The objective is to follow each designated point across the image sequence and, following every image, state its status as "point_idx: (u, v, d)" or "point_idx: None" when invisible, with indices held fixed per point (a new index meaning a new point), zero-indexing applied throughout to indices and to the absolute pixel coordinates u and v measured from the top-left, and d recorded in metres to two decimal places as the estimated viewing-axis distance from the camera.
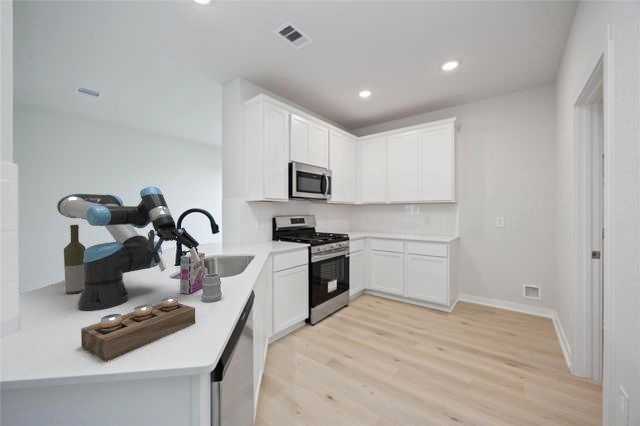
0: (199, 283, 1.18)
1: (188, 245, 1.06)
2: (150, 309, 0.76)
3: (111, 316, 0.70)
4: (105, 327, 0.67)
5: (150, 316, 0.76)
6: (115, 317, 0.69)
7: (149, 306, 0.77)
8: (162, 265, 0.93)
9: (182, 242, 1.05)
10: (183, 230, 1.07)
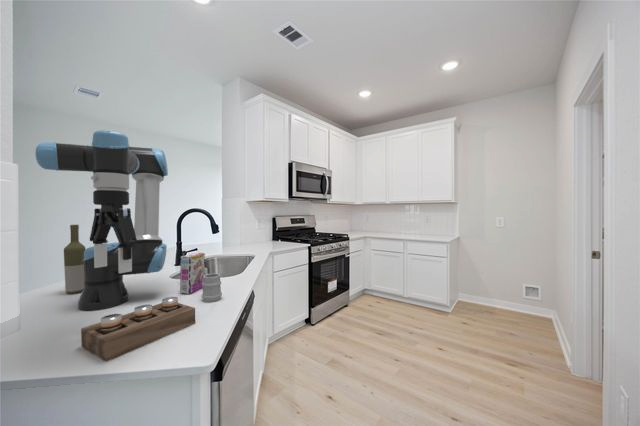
0: (199, 283, 1.18)
1: None
2: (150, 309, 0.76)
3: (111, 316, 0.70)
4: (105, 327, 0.67)
5: (150, 316, 0.76)
6: (115, 317, 0.69)
7: (149, 306, 0.77)
8: None
9: None
10: (118, 214, 0.66)
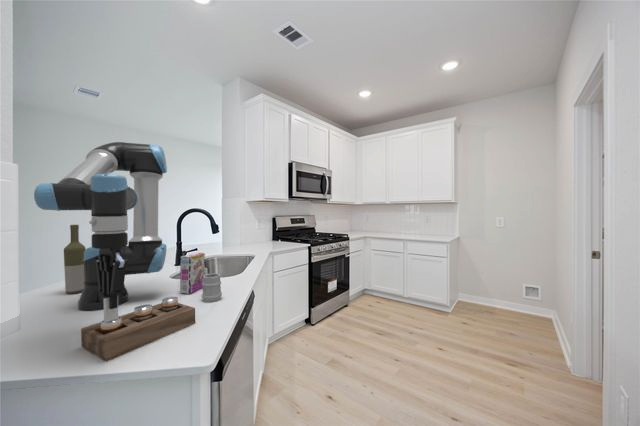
0: (199, 283, 1.18)
1: None
2: (150, 309, 0.76)
3: None
4: (105, 330, 0.67)
5: (150, 316, 0.76)
6: (115, 320, 0.69)
7: (149, 306, 0.77)
8: None
9: None
10: (114, 264, 0.66)
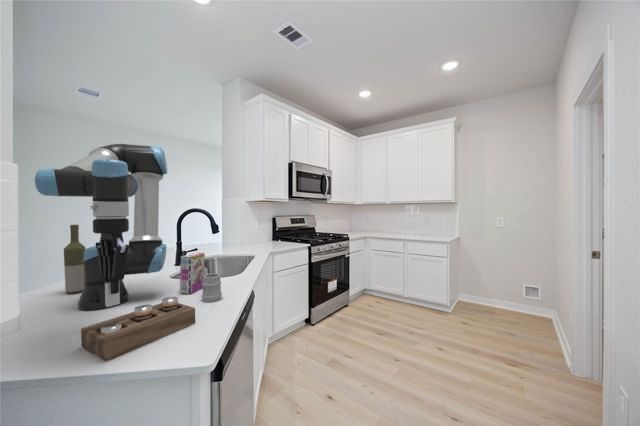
0: (199, 283, 1.18)
1: None
2: (150, 309, 0.76)
3: (111, 325, 0.70)
4: None
5: (150, 316, 0.76)
6: (115, 326, 0.69)
7: (149, 306, 0.77)
8: None
9: None
10: (115, 249, 0.66)
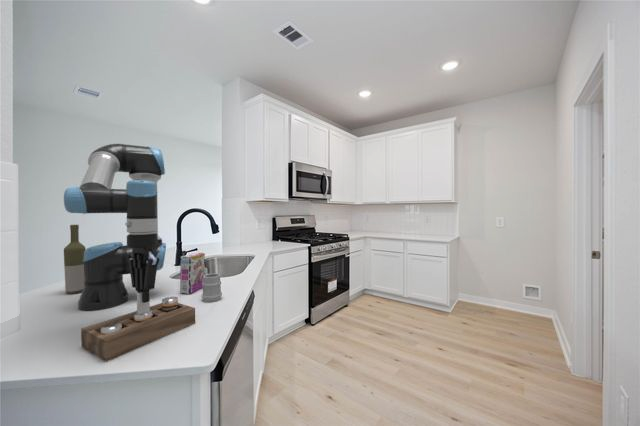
0: (199, 283, 1.18)
1: None
2: (150, 315, 0.76)
3: (111, 325, 0.70)
4: None
5: None
6: (115, 326, 0.69)
7: (149, 312, 0.77)
8: None
9: None
10: (147, 262, 0.73)
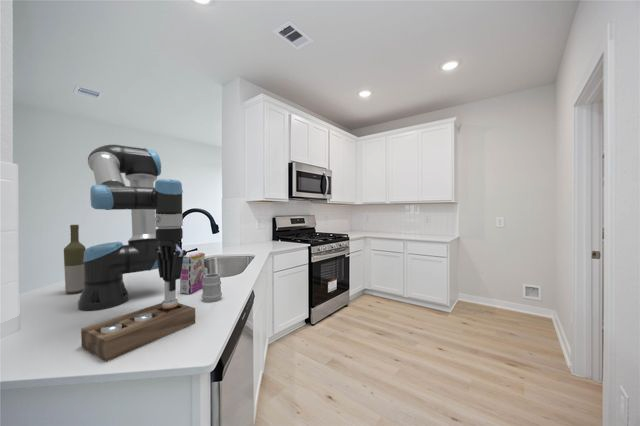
0: (199, 283, 1.18)
1: None
2: (150, 317, 0.76)
3: (111, 325, 0.70)
4: None
5: None
6: (115, 326, 0.69)
7: (149, 314, 0.77)
8: None
9: None
10: (175, 254, 0.80)
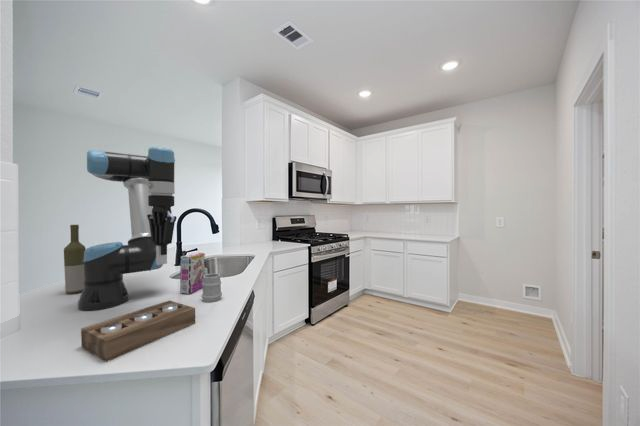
0: (199, 283, 1.18)
1: None
2: (150, 317, 0.76)
3: (111, 325, 0.70)
4: None
5: None
6: (115, 326, 0.69)
7: (149, 314, 0.77)
8: None
9: None
10: (166, 219, 0.84)
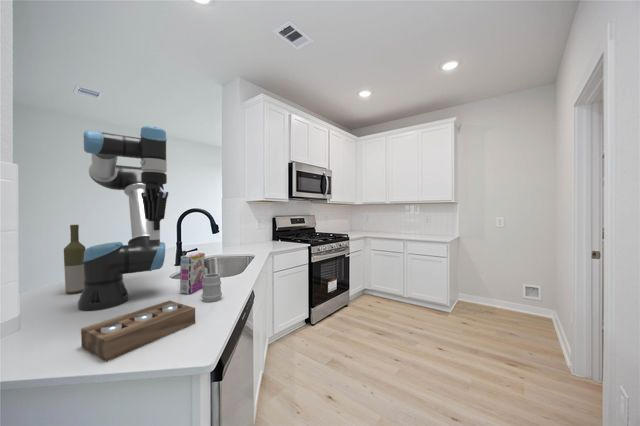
0: (199, 283, 1.18)
1: None
2: (150, 317, 0.76)
3: (111, 325, 0.70)
4: None
5: None
6: (115, 326, 0.69)
7: (149, 314, 0.77)
8: None
9: None
10: (159, 194, 0.87)
